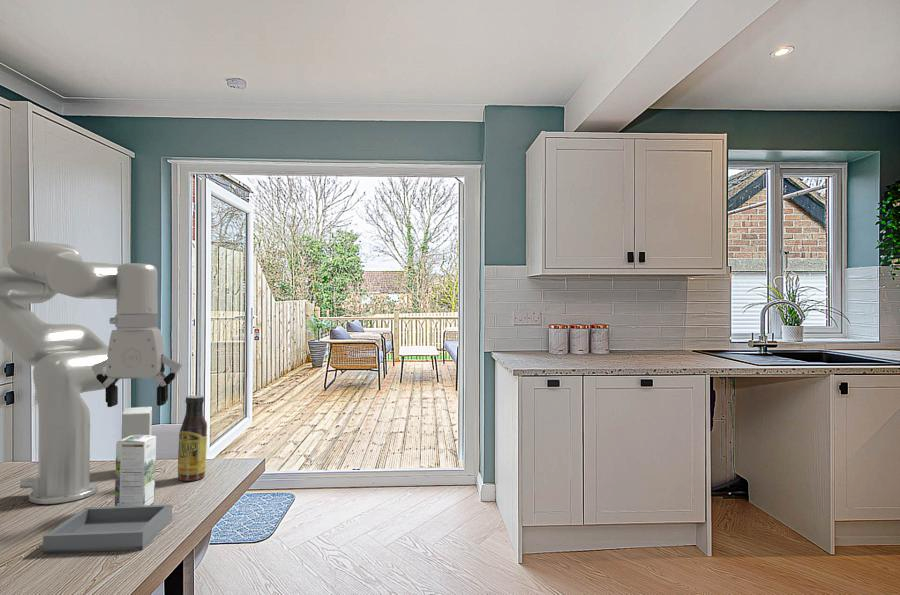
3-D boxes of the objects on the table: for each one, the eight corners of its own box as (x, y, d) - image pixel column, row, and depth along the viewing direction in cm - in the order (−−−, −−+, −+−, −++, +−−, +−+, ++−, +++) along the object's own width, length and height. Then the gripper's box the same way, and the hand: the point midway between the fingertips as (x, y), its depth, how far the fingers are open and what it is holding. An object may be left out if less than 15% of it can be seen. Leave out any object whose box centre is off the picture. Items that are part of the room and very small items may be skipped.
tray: (42, 554, 99) (43, 536, 99) (85, 523, 113) (85, 507, 113) (142, 549, 101) (142, 532, 101) (172, 519, 115) (172, 504, 115)
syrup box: (127, 503, 124) (127, 434, 124) (156, 502, 124) (156, 434, 125) (114, 513, 118) (114, 441, 118) (144, 512, 119) (144, 440, 119)
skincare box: (123, 468, 151) (124, 407, 151) (152, 465, 153) (153, 405, 153) (119, 477, 143) (120, 413, 143) (150, 474, 145) (150, 411, 146)
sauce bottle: (171, 481, 139) (172, 397, 140) (189, 473, 146) (189, 393, 146) (196, 483, 138) (196, 398, 138) (212, 475, 144) (212, 394, 144)
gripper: (83, 323, 117) (83, 409, 117) (174, 323, 119) (174, 407, 119) (101, 322, 125) (101, 403, 124) (186, 322, 126) (186, 401, 126)
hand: (137, 405), depth 122 cm, fingers open, 9 cm apart
